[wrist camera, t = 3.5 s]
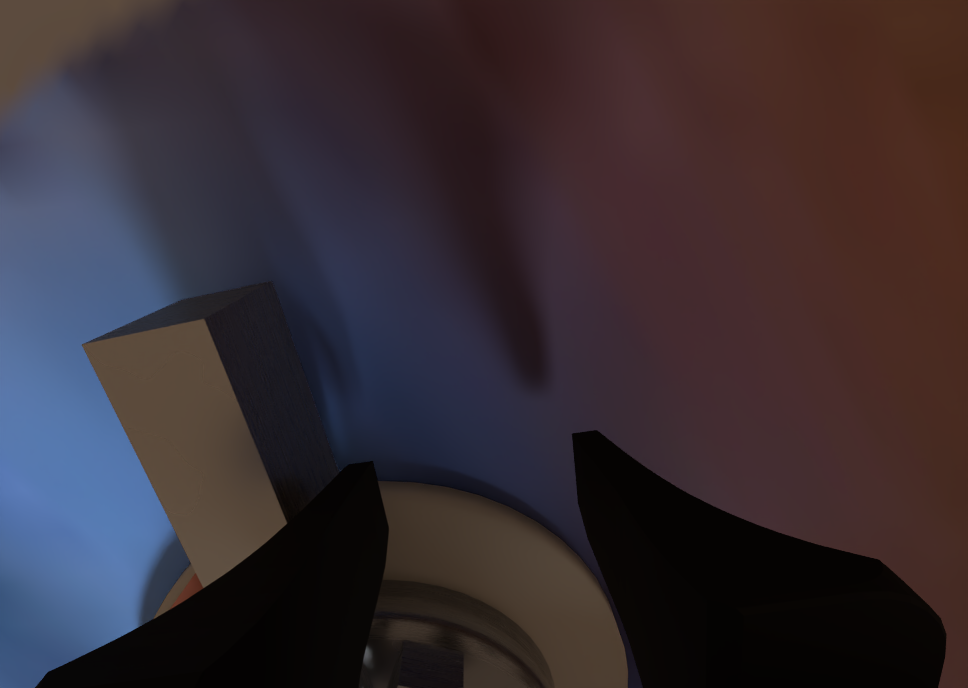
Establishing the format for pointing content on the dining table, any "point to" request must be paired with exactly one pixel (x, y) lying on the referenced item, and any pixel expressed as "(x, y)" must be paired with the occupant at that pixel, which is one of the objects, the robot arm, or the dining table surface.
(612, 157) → the dining table surface
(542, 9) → the dining table surface
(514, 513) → the flange plate
